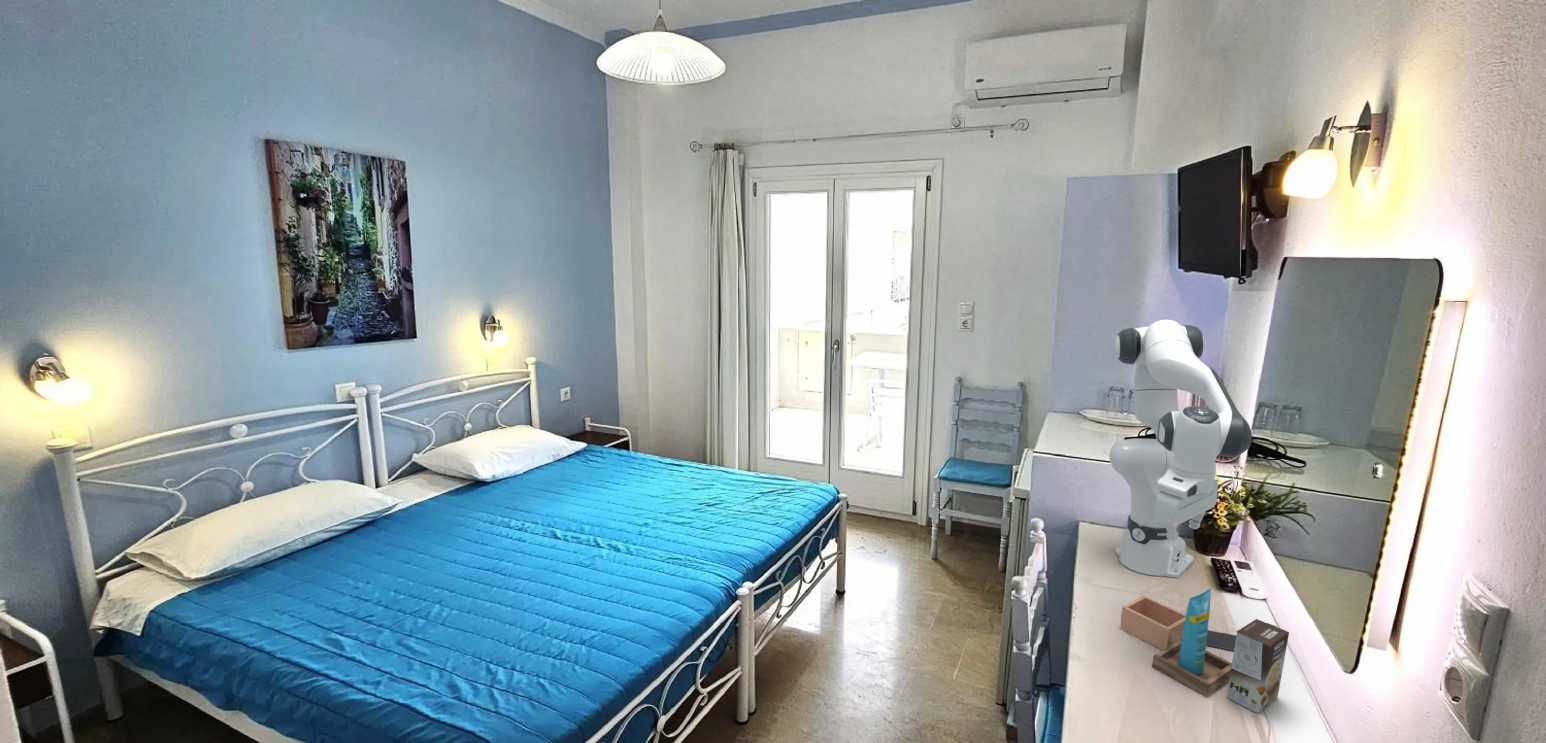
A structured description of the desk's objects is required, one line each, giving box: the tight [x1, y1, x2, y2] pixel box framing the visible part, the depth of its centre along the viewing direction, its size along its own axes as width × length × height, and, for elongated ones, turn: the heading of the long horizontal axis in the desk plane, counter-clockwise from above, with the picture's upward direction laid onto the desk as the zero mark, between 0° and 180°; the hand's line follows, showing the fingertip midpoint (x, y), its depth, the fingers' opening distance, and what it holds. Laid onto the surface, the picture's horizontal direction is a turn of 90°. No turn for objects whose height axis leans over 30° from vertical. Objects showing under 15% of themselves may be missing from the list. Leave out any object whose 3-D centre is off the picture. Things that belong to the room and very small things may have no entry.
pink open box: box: [1119, 595, 1186, 651], centre depth 168 cm, size 10×12×6 cm
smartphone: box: [1206, 629, 1237, 653], centre depth 164 cm, size 7×1×15 cm
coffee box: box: [1226, 618, 1290, 714], centre depth 144 cm, size 9×6×16 cm
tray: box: [1151, 638, 1232, 698], centre depth 154 cm, size 12×12×3 cm
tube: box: [1178, 587, 1212, 675], centre depth 151 cm, size 7×5×19 cm, turn 123°
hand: (1183, 533), depth 157 cm, fingers open, 8 cm apart
